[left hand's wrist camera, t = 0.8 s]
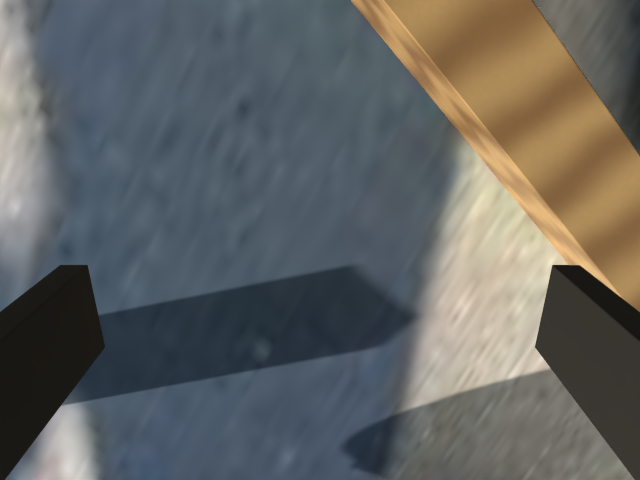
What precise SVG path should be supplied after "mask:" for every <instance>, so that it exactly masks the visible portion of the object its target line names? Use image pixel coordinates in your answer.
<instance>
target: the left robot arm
mask: <svg viewBox="0 0 640 480" xmlns="http://www.w3.org/2000/svg"><path fill="white" fill-rule="evenodd" d="M104 348H105V345H104V340H103V336H102V331H101V326H100V322H99V317H98V312H97V308H96V303H95V298H94V294H93V289H92V284H91V279H90V275H89V270H88V265H60V266H58V267H57V268H56V269H55V270H53V271H52V272H51V273H50V274H48V275H47V276H46V277H44V278H43V279H42V280H41V281H39V282H38V283H37V284H35V285H34V286H33V287H32V288H30V289H29V290H28V291H27V292H25V293H24V294H23V295H21V296H20V297H19V298H18V299H16V300H15V301H14V302H12V303H11V304H10V305H9V306H7V307H6V308H5V309H3V310H2V311H1V312H0V480H5V479H6V478H7V476H8V475H9V474H10V472H11V471H12V470H13V468H14V467H15V466H16V464H17V463H18V462H19V460H20V459H21V458H22V456H23V455H24V454H25V452H26V451H27V450H28V448H29V447H30V446H31V444H32V443H33V442H34V440H35V439H36V438H37V436H38V435H39V434H40V432H41V431H42V430H43V429H44V427H45V426H46V425H47V423H48V422H49V421H50V419H51V418H52V417H53V415H54V414H55V413H56V411H57V410H58V409H59V407H60V406H61V405H62V403H63V402H64V401H65V399H66V398H67V397H68V395H69V394H70V393H71V391H72V390H73V389H74V387H75V386H76V385H77V383H78V382H79V381H80V379H81V378H82V377H83V376H84V374H85V373H86V372H87V370H88V369H89V368H90V366H91V365H92V364H93V362H94V361H95V360H96V358H97V357H98V356H99V354H100V353H101V352H102V350H103V349H104ZM535 348H536V349H537V350H538V352H539V353H540V354H541V356H542V357H543V358H544V360H545V361H546V362H547V364H548V365H549V366H550V368H551V369H552V370H553V372H554V373H555V374H556V376H557V377H558V378H559V379H560V381H561V382H562V383H563V385H564V386H565V387H566V389H567V390H568V391H569V393H570V394H571V395H572V397H573V398H574V399H575V401H576V402H577V403H578V405H579V406H580V407H581V409H582V410H583V411H584V413H585V414H586V415H587V417H588V418H589V419H590V421H591V422H592V423H593V425H594V426H595V427H596V429H597V430H598V431H599V432H600V434H601V435H602V436H603V438H604V439H605V440H606V442H607V443H608V444H609V446H610V447H611V448H612V450H613V451H614V452H615V454H616V455H617V456H618V458H619V459H620V460H621V462H622V463H623V464H624V466H625V467H626V468H627V470H628V471H629V472H630V474H631V475H632V476H633V478H634V479H635V480H640V312H639V311H638V310H637V309H635V308H634V307H633V306H631V305H630V304H629V303H628V302H626V301H625V300H624V299H622V298H621V297H620V296H619V295H617V294H616V293H615V292H613V291H612V290H611V289H610V288H608V287H607V286H606V285H605V284H603V283H602V282H601V281H599V280H598V279H597V278H596V277H594V276H593V275H592V274H590V273H589V272H588V271H587V270H585V269H584V268H583V267H582V266H580V265H552V270H551V275H550V279H549V284H548V289H547V294H546V298H545V303H544V308H543V312H542V317H541V322H540V326H539V331H538V336H537V340H536V345H535Z"/></svg>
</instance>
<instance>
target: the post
mask: <svg viewBox="0 0 640 480" xmlns="http://www.w3.org/2000/svg"><path fill="white" fill-rule="evenodd" d="M351 1H352V2H353V3H354V5H355V6H356V7H357V8H358V9H359V11H360V12H361V13H362V14H363V16H364V17H365V18H366V19H367V20H368V22H369V23H370V24H371V25H372V26H373V28H374V29H375V30H376V31H377V33H378V34H379V35H380V36H381V37H382V39H383V40H384V41H385V42H386V43H387V45H388V46H389V47H390V48H391V49H392V51H393V52H394V53H395V54H396V56H397V57H398V58H399V59H400V60H401V62H402V63H403V64H404V65H405V66H406V68H407V69H408V70H409V71H410V73H411V74H412V75H413V76H414V77H415V79H416V80H417V81H418V82H419V83H420V85H421V86H422V87H423V88H424V90H425V91H426V92H427V93H428V94H429V96H430V97H431V98H432V99H433V100H434V102H435V103H436V104H437V105H438V106H439V108H440V109H441V110H442V111H443V113H444V114H445V115H446V116H447V117H448V119H449V120H450V121H451V122H452V123H453V125H454V126H455V127H456V128H457V130H458V131H459V132H460V133H461V134H462V136H463V137H464V138H465V139H466V140H467V142H468V143H469V144H470V145H471V146H472V148H473V149H474V150H475V151H476V153H477V154H478V155H479V156H480V157H481V159H482V160H483V161H484V162H485V163H486V165H487V166H488V167H489V168H490V170H491V171H492V172H493V173H494V174H495V176H496V177H497V178H498V179H499V180H500V182H501V183H502V184H503V185H504V186H505V188H506V189H507V190H508V191H509V193H510V194H511V195H512V196H513V197H514V199H515V200H516V201H517V202H518V203H519V205H520V206H521V207H522V208H523V210H524V211H525V212H526V213H527V214H528V216H529V217H530V218H531V219H532V220H533V222H534V223H535V224H536V225H537V226H538V228H539V229H540V230H541V231H542V233H543V234H544V235H545V236H546V237H547V239H548V240H549V241H550V242H551V243H552V245H553V246H554V247H555V248H556V250H557V251H558V252H559V253H560V254H561V256H562V257H563V258H564V259H565V260H566V262H567V263H568V264H569V265H580V266H582V267H583V268H584V269H585V270H587V271H588V272H589V273H590V274H592V275H593V276H594V277H596V278H597V279H598V280H599V281H601V282H602V283H603V284H605V285H606V286H607V287H608V288H610V289H611V290H612V291H613V292H615V293H616V294H617V295H619V296H620V297H621V298H622V299H624V300H625V301H626V302H628V303H629V304H630V305H631V306H633V307H634V308H635V309H637V310H638V311H639V312H640V155H639V154H638V152H637V151H636V149H635V148H634V146H633V145H632V143H631V142H630V141H629V139H628V138H627V136H626V135H625V133H624V132H623V130H622V129H621V128H620V126H619V125H618V123H617V122H616V120H615V119H614V117H613V116H612V115H611V113H610V112H609V110H608V109H607V107H606V106H605V104H604V103H603V102H602V100H601V99H600V97H599V96H598V94H597V93H596V91H595V90H594V89H593V87H592V86H591V84H590V83H589V81H588V80H587V78H586V77H585V76H584V74H583V73H582V71H581V70H580V68H579V67H578V65H577V64H576V62H575V61H574V60H573V58H572V57H571V55H570V54H569V52H568V51H567V49H566V48H565V47H564V45H563V44H562V42H561V41H560V39H559V38H558V36H557V35H556V34H555V32H554V31H553V29H552V28H551V26H550V25H549V23H548V22H547V21H546V19H545V18H544V16H543V15H542V13H541V12H540V10H539V9H538V8H537V6H536V5H535V3H534V2H533V0H351Z"/></svg>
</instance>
